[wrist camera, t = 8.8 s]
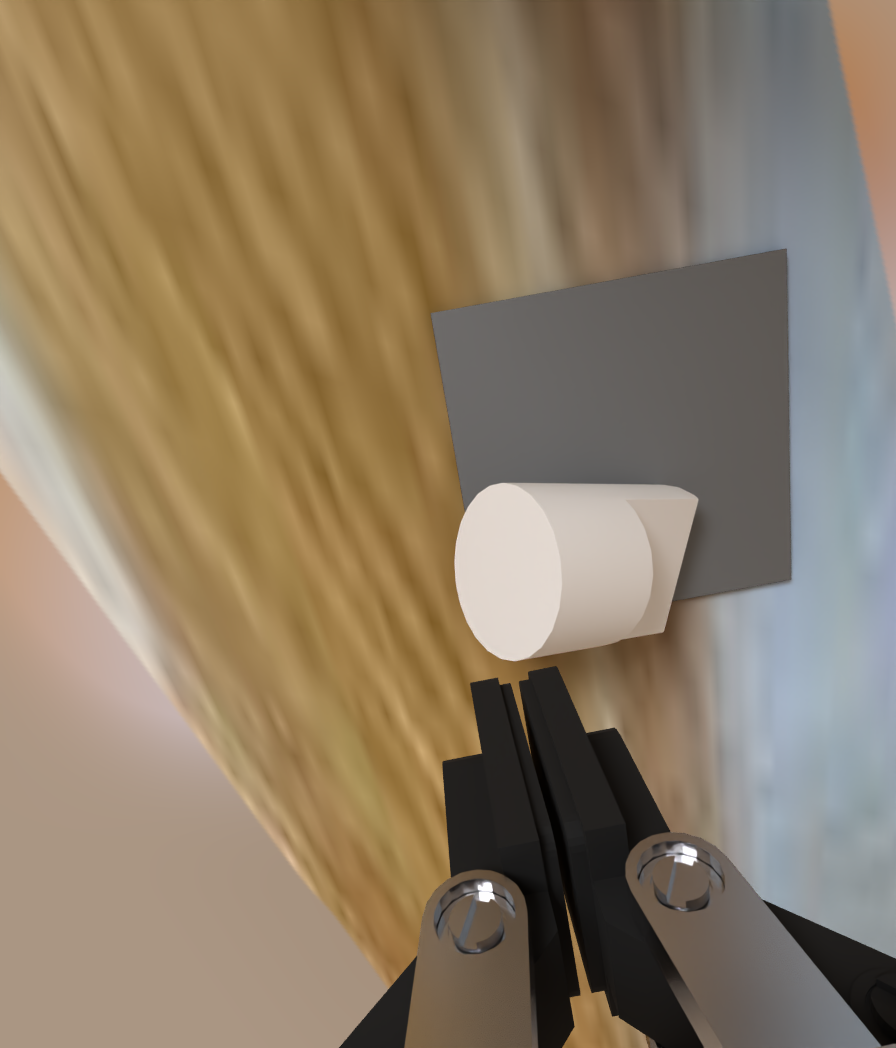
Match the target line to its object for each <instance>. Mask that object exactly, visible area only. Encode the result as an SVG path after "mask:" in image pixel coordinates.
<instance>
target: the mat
mask: <svg viewBox="0 0 896 1048" xmlns="http://www.w3.org/2000/svg"><path fill="white" fill-rule="evenodd" d="M431 318H432V324H433V330H434V336H435V341H436V347H437V353H438V359H439V365H440V370H441V376H442V382H443V388H444V393H445V399H446V405H447V411H448V417H449V422H450V428H451V434H452V440H453V446H454V451H455V457H456V463H457V469H458V475H459V480H460V486H461V492H462V498H463V503H464V509H465V512H466V510H467V508H468V506H469V505H470V503H471V502H472V501H473V500H474V498H475V497H476V496H477V494H478V493H480V492H481V491H483V490H484V489H486V488H487V487H488V486H491V485H495V484H499V483H568V484H651V485H668V486H674V487H679V488H681V489H683V490H685V491H687V492H689V493H691V494H693V495H695V496H696V497H697V498H698V499H699V500H698V504H697V508H696V511H695V515H694V519H693V523H692V527H691V530H690V534H689V538H688V542H687V546H686V549H685V553H684V557H683V561H682V565H681V568H680V572H679V576H678V580H677V584H676V587H675V591H674V595H673V599H672V601H677V600H682V599H688V598H693V597H698V596H704V595H709V594H715V593H720V592H726V591H731V590H736V589H742V588H747V587H753V586H758V585H764V584H769V583H775V582H780V581H785V580H791V534H790V463H789V391H788V319H787V249H782V250H776V251H771V252H765V253H760V254H754V255H749V256H743V257H738V258H732V259H727V260H721V261H716V262H710V263H705V264H699V265H694V266H688V267H683V268H677V269H672V270H666V271H661V272H655V273H650V274H644V275H639V276H633V277H628V278H622V279H617V280H611V281H606V282H600V283H595V284H589V285H584V286H578V287H573V288H567V289H562V290H556V291H551V292H545V293H540V294H534V295H529V296H523V297H518V298H512V299H507V300H501V301H496V302H490V303H485V304H479V305H474V306H468V307H463V308H457V309H452V310H446V311H441V312H435V313H431Z"/></svg>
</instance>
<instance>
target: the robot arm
mask: <svg viewBox="0 0 896 1048" xmlns="http://www.w3.org/2000/svg"><path fill="white" fill-rule="evenodd" d="M528 676H529V679H528V680H523V681H519V686H520V692H521V698H522V704H523V710H524V716H525V721H526V727H527V733H528V739H529V745H530V750H531V754H530V750H529V747H528V743H527V740H526V736H525V733H524V729H523V726H522V722H521V719H520V715H519V712H518V708H517V704H516V701H515V697H514V694H513V690H512V687H511V684H510V683H508V684H503V685H500V684H499V681H498V678H493V679H488V680H483V681H478V682H473V683H470V686H471V692H472V697H473V703H474V709H475V715H476V721H477V726H478V732H479V738H480V744H481V750H482V754H477V755H472V756H467V757H462V758H457V759H452V760H447V761H443V780H444V793H445V806H446V819H447V832H448V845H449V858H450V871H451V878H449V879H447V880H446V881H445V882H444V883H443V884H442V885H440V886H439V887H438V888H437V889H436V890H435V891H434V893H433V894H432V896H431V897H430V899H429V900H428V902H427V904H426V907H425V911H424V914H423V917H422V924H421V932H420V939H419V946H418V953H417V956H416V958H415V959H414V960H413V961H412V962H411V964H410V965H409V966H408V967H407V968H406V969H405V971H404V972H403V973H402V974H401V975H400V977H399V978H398V979H397V980H396V981H395V982H394V984H393V985H392V986H391V987H390V988H389V989H388V991H387V992H386V993H385V994H384V995H383V997H382V998H381V999H380V1000H379V1001H378V1003H377V1004H376V1005H375V1006H374V1007H373V1008H372V1010H371V1011H370V1012H369V1013H368V1014H367V1016H366V1017H365V1018H364V1019H363V1020H362V1021H361V1023H360V1024H359V1025H358V1026H357V1027H356V1028H355V1030H354V1031H353V1032H352V1033H351V1034H350V1036H349V1037H348V1038H347V1039H346V1040H345V1041H344V1043H343V1044H342V1045H341V1046H340V1047H339V1048H562V1047H563V1045H564V1043H565V1042H566V1040H567V1038H568V1037H569V1035H570V1033H571V1031H572V1030H573V1028H574V1021H573V1015H572V1009H571V1003H570V998H569V997H574V996H579V995H580V988H579V982H578V976H577V970H576V964H575V958H574V952H573V946H572V940H571V934H570V928H569V922H568V916H567V910H566V904H565V899H566V903H567V906H568V910H569V913H570V917H571V921H572V924H573V928H574V932H575V935H576V939H577V943H578V946H579V950H580V954H581V957H582V961H583V965H584V968H585V972H586V976H587V979H588V983H589V986H590V989H591V992H592V993H594V992H599V991H605V994H606V997H607V1001H608V1004H609V1007H610V1011H611V1014H612V1017H613V1016H618V1015H619V1018H621V1019H622V1020H624V1021H625V1022H627V1023H628V1024H630V1025H631V1026H633V1027H634V1028H636V1029H637V1030H639V1031H640V1032H642V1033H643V1034H645V1035H646V1041H647V1044H648V1047H649V1048H896V959H895V958H893V957H891V956H888V955H886V954H884V953H882V952H879V951H877V950H875V949H873V948H870V947H868V946H866V945H864V944H861V943H859V942H857V941H855V940H852V939H850V938H848V937H846V936H843V935H841V934H839V933H837V932H834V931H832V930H830V929H828V928H825V927H823V926H821V925H819V924H816V923H814V922H812V921H810V920H807V919H805V918H803V917H801V916H798V915H796V914H794V913H792V912H789V911H787V910H785V909H783V908H780V907H778V906H776V905H774V904H771V903H769V902H767V901H765V900H762V899H761V898H760V897H759V895H758V894H757V893H756V892H755V890H754V889H753V888H752V887H751V886H750V884H749V883H748V882H747V881H746V879H745V878H744V877H743V876H742V875H741V873H740V872H739V871H738V870H737V868H736V867H735V866H734V865H733V863H732V862H731V861H730V860H729V859H728V857H727V856H725V855H724V854H723V853H722V852H721V851H720V850H719V849H718V848H717V847H716V846H714V845H712V844H711V843H709V842H707V841H705V840H703V839H702V838H699V837H696V836H692V835H689V834H685V833H672V832H670V830H669V828H668V826H667V824H666V822H665V820H664V818H663V817H662V815H661V813H660V811H659V809H658V807H657V805H656V803H655V801H654V799H653V797H652V795H651V793H650V791H649V790H648V788H647V786H646V784H645V782H644V780H643V778H642V776H641V774H640V772H639V770H638V768H637V766H636V764H635V763H634V761H633V759H632V757H631V755H630V753H629V751H628V749H627V747H626V745H625V743H624V741H623V739H622V737H621V736H620V734H619V732H618V731H617V729H615V728H610V729H605V730H600V731H595V732H590V733H586V732H585V729H584V727H583V725H582V723H581V720H580V718H579V716H578V713H577V711H576V709H575V707H574V704H573V702H572V700H571V697H570V695H569V693H568V691H567V688H566V686H565V684H564V681H563V679H562V677H561V675H560V672H559V670H558V668H557V667H556V666H555V667H549V668H544V669H539V670H534V671H529V672H528ZM531 756H532V757H531ZM564 895H565V898H564Z"/></svg>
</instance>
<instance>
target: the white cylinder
mask: <svg viewBox="0 0 896 1048" xmlns="http://www.w3.org/2000/svg"><path fill="white" fill-rule="evenodd" d="M698 500H699V499H698V498H697V497H696V496H695V495H693V494H691V493H689V492H687V491H685V490H683V489H681V488H679V487H674V486H668V485H651V484H568V483H499V484H495V485H491V486H488V487H487V488H486V489H484V490H483V491H481V492H480V493H478V494H477V496H476V497H475V498H474V500H473V501H472V502H471V503H470V505H469V506H468V508H467V510H466V512H465V515H464V517H463V519H462V521H461V524H460V528H459V532H458V536H457V541H456V550H455V577H456V586H457V591H458V596H459V601H460V604H461V607H462V610H463V613H464V615H465V618H466V621H467V623H468V625H469V626H470V628H471V630H472V632H473V633H474V635H475V637H476V638H477V639H478V641H479V642H480V643H481V644H482V645H483V646H484V647H485V648H486V649H487V650H488V651H489V652H491V653H492V654H494V655H496V656H497V657H499V658H500V659H505V660H511V661H519V660H525V659H531V658H536V657H542V656H548V655H553V654H559V653H565V652H571V651H576V650H582V649H588V648H593V647H599V646H604V645H608V644H612V643H616V642H618V641H620V640H622V639H628V638H633V637H639V636H645V635H651V634H657V633H663V632H664V629H665V625H666V622H667V618H668V614H669V610H670V606H671V603H672V599H673V595H674V591H675V587H676V584H677V580H678V576H679V572H680V568H681V565H682V561H683V557H684V553H685V549H686V546H687V542H688V538H689V534H690V530H691V527H692V523H693V519H694V515H695V511H696V508H697V504H698Z"/></svg>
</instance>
